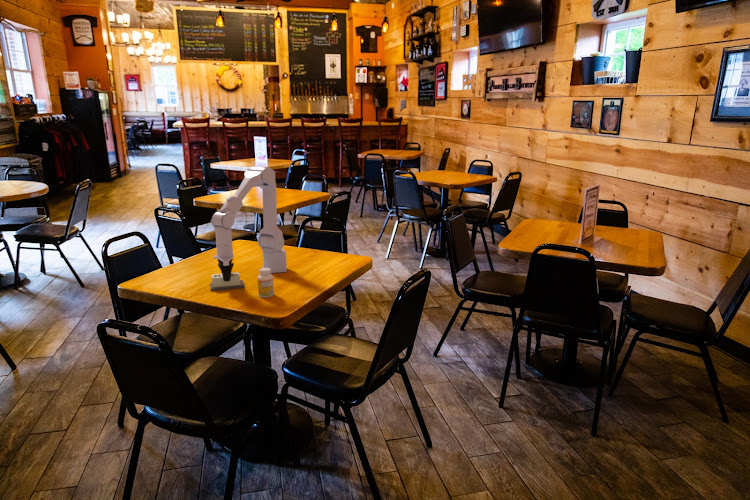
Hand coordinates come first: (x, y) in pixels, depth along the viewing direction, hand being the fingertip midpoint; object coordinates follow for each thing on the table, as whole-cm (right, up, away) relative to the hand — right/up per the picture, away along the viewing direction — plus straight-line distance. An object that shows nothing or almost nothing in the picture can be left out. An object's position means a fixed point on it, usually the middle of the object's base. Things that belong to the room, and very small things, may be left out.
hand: (226, 278), depth 190 cm
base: (0, -3, +1) cm, 3 cm away
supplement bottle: (+17, -6, -8) cm, 19 cm away
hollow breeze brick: (0, -2, 0) cm, 2 cm away
